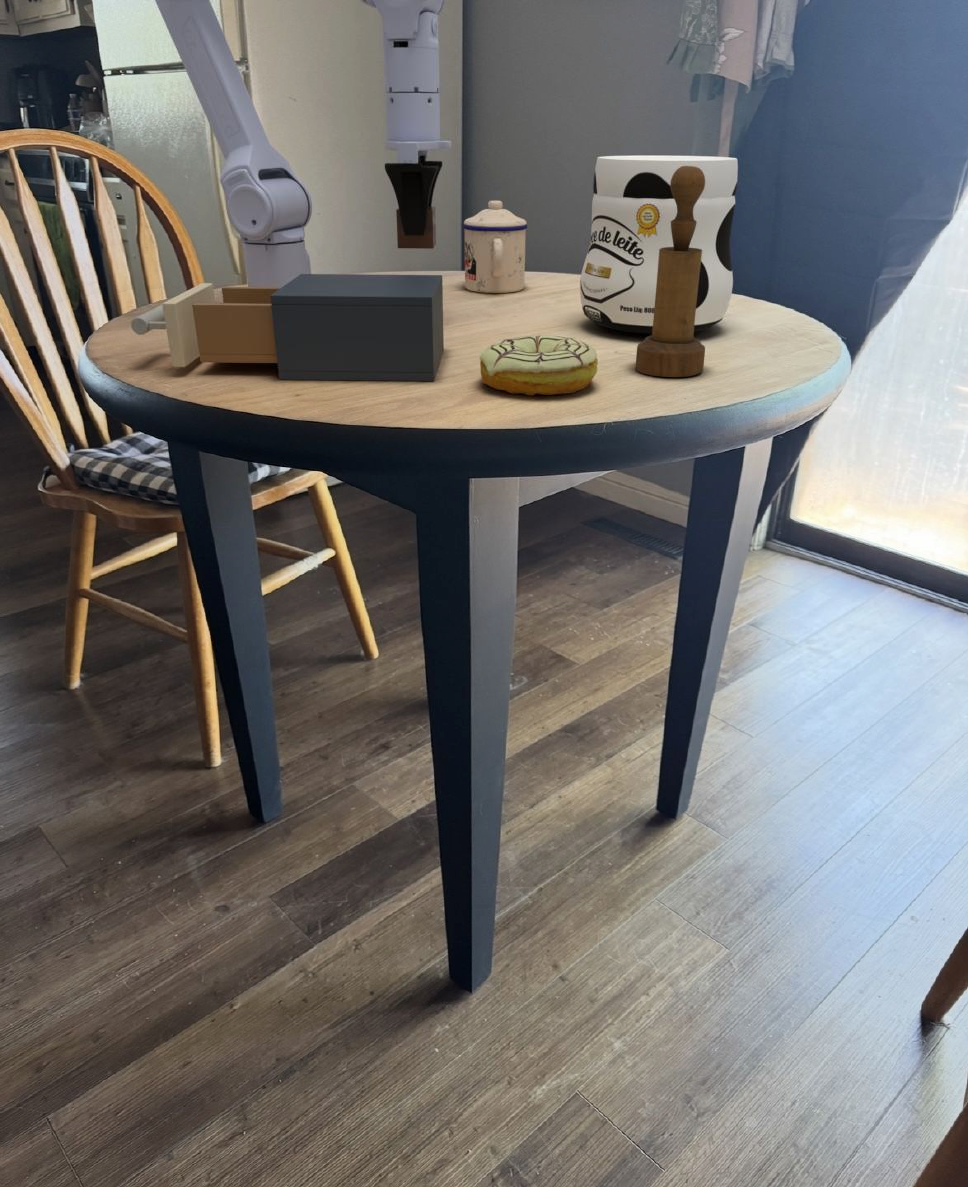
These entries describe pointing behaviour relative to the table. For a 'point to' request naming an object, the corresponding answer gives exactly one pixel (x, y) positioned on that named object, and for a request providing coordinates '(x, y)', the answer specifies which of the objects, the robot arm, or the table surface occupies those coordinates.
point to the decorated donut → (539, 365)
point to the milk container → (654, 238)
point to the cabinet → (359, 327)
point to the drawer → (215, 325)
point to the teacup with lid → (495, 251)
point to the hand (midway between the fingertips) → (416, 233)
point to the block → (418, 241)
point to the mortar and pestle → (676, 290)
